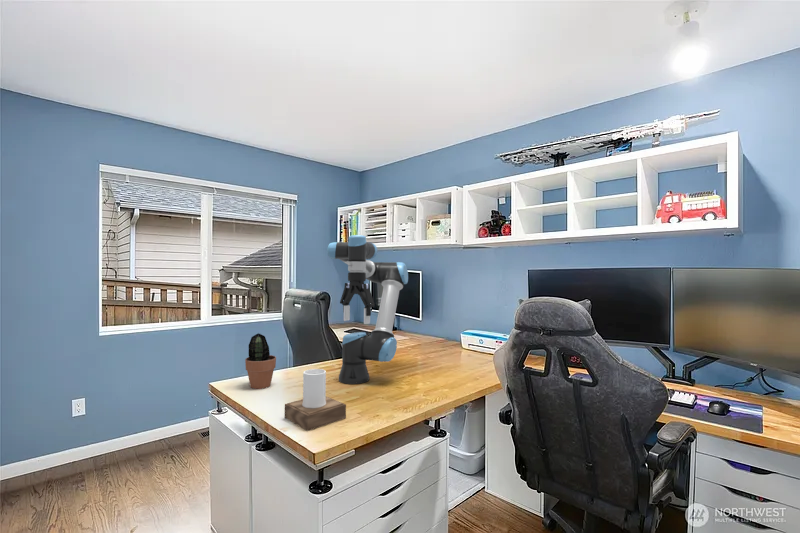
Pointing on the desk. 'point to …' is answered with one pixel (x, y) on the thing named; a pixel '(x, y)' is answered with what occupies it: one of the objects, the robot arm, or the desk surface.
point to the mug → (314, 388)
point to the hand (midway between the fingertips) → (356, 322)
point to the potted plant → (259, 363)
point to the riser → (315, 413)
